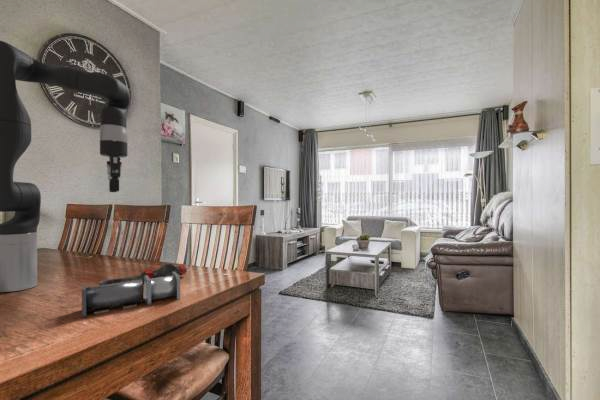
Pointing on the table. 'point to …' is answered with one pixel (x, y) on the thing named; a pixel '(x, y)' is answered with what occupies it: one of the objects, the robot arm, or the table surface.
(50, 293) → the table surface
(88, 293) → the pipe stub
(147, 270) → the valve
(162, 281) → the coupling
